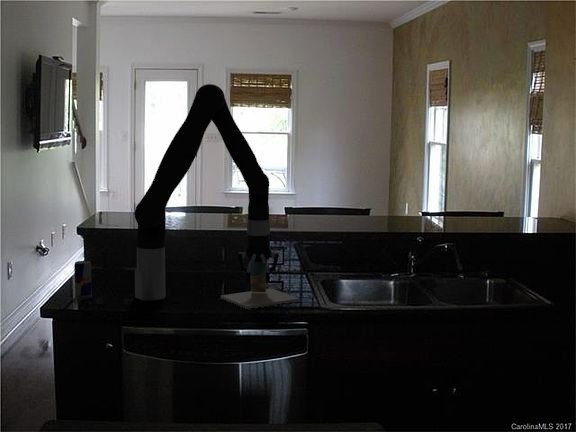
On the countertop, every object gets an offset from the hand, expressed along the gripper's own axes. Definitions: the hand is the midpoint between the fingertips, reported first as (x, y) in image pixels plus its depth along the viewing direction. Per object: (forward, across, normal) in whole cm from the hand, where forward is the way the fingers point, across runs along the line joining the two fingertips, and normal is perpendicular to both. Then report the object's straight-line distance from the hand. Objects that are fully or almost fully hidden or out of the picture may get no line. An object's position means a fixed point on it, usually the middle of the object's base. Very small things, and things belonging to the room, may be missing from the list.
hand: (258, 283), depth 269 cm
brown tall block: (+2, 0, +5) cm, 5 cm away
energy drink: (+5, -58, -2) cm, 58 cm away
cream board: (+5, 0, -3) cm, 6 cm away
